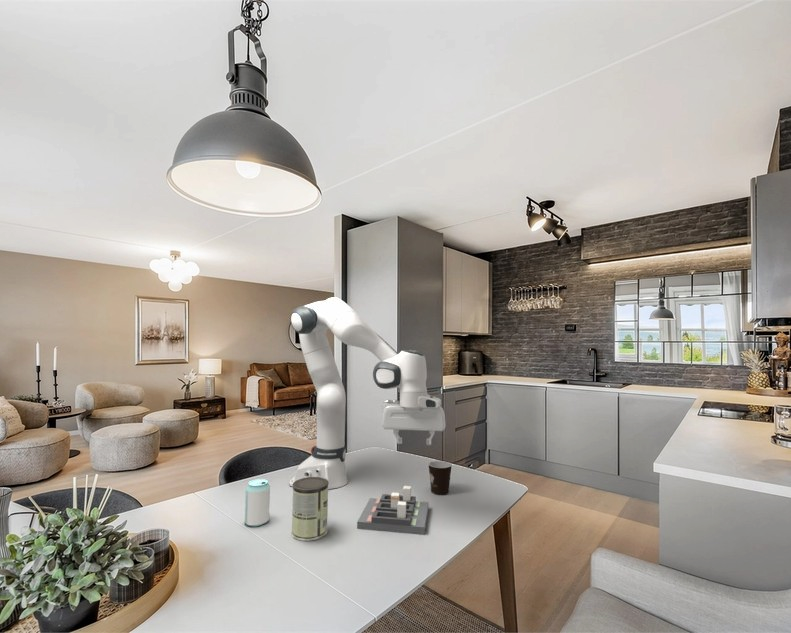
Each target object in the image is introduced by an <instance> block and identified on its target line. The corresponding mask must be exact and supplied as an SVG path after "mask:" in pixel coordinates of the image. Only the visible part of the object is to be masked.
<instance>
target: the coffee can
mask: <svg viewBox="0 0 791 633" xmlns="http://www.w3.org/2000/svg"><path fill="white" fill-rule="evenodd" d="M328 485H329V482H328V480H327V479H324V478H321V477H307V478H302V479H299V480H297V481H295V482H294V483H293V486H292V510H291V511H292V514H291V515H292V517H291V536H292V538H293V539H295V540H297V541H300V542H311V541H316V540H319V539H323V537H324V536H326V535H327V533H328V515H329V514H328V511H329V510H328V509H329V504H328V503H329V489H328Z"/></svg>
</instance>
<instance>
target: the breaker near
mask: <svg viewBox="0 0 791 633" xmlns="http://www.w3.org/2000/svg"><path fill="white" fill-rule="evenodd" d="M397 518H405V519H406V502H401V501H398V504H397Z"/></svg>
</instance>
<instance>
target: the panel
mask: <svg viewBox="0 0 791 633" xmlns="http://www.w3.org/2000/svg"><path fill="white" fill-rule="evenodd" d="M416 499H417V497H416V496H414V495H413V496H412V495H411V501H405V500H403V494H402V495H400V497H399V501H401V502H406V519H405V518H397V508H391V494H386V493H382V495H381V496H380V498H376V497H375V498H374V497H370V498H368V502H367V503H366V505H365V507H364V509H363V510H362V512H361V514H360V516H359V518H358V519H357V521H356V525H357V526H356V528H357V529H358V530H359V529H360V530H366V531H367V530H368V531H370V530H371V531H382V532H392V533H403V534H404V533H405V534H416V535H425V533H426V527H427V519H428V513H429V502H428V501H418V500H416Z"/></svg>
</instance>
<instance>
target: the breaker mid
mask: <svg viewBox="0 0 791 633" xmlns="http://www.w3.org/2000/svg"><path fill="white" fill-rule="evenodd" d="M390 495H391V508H397V504H398V501H399V497H400V492H391V493H390Z"/></svg>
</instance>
